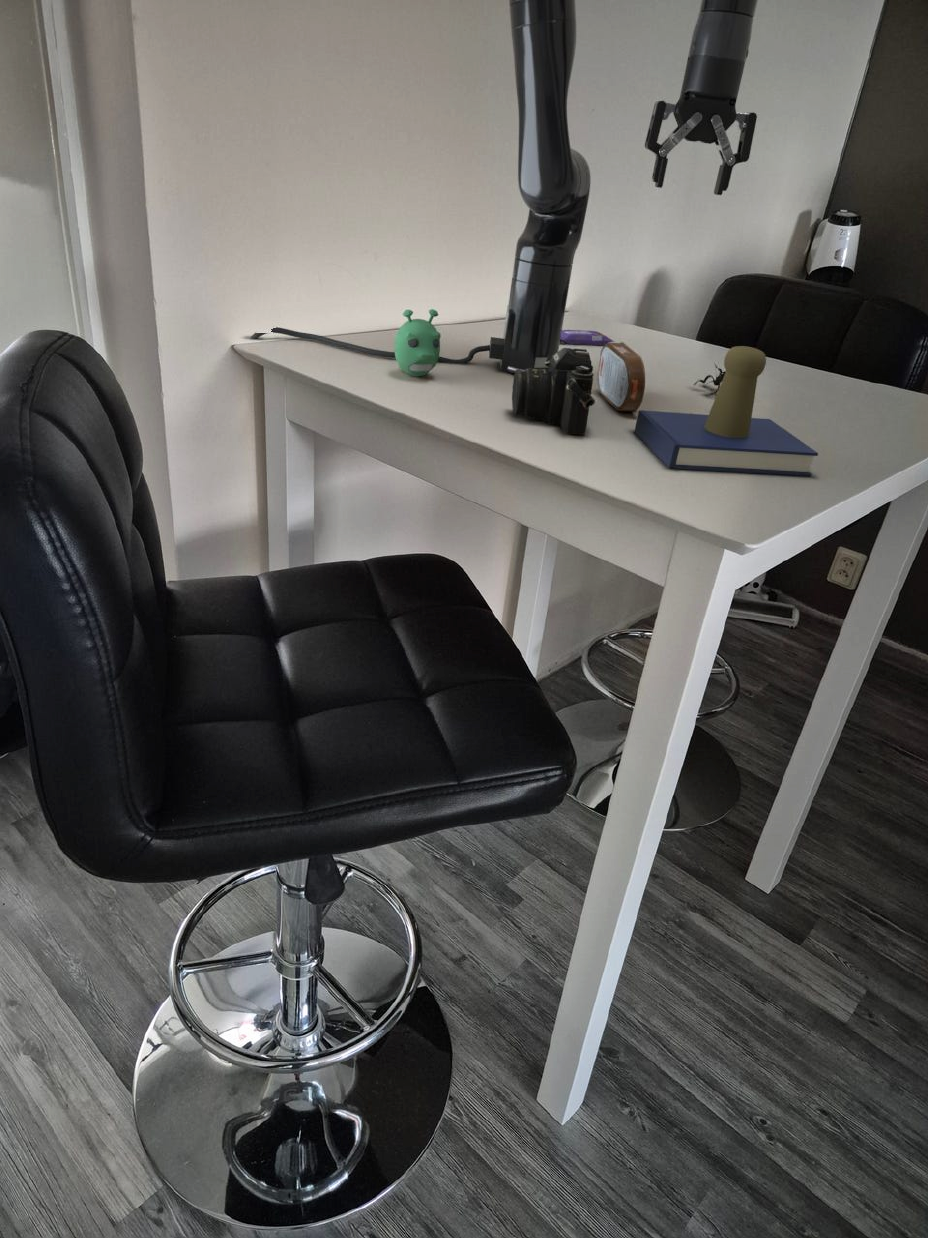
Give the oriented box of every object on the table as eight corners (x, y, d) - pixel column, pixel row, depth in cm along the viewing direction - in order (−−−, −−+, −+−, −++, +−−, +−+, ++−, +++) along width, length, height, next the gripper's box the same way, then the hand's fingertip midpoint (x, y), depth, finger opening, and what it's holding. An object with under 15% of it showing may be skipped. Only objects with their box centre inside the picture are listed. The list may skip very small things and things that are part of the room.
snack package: (562, 334, 166) (551, 328, 170) (560, 344, 167) (550, 338, 171) (616, 336, 170) (604, 330, 174) (614, 346, 171) (602, 340, 175)
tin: (640, 419, 130) (652, 362, 126) (620, 418, 129) (632, 360, 125) (609, 389, 143) (619, 336, 138) (590, 388, 142) (600, 335, 138)
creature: (694, 401, 146) (744, 398, 145) (694, 369, 144) (745, 365, 142) (692, 389, 153) (739, 387, 152) (692, 358, 151) (741, 355, 149)
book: (668, 468, 112) (674, 444, 110) (633, 432, 124) (638, 409, 122) (810, 476, 116) (818, 453, 114) (763, 440, 128) (770, 418, 126)
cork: (722, 438, 115) (745, 353, 109) (694, 423, 119) (715, 341, 114) (758, 437, 117) (782, 354, 112) (729, 422, 122) (751, 342, 116)
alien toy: (403, 383, 132) (409, 314, 127) (386, 369, 138) (390, 302, 133) (446, 383, 135) (453, 315, 130) (427, 369, 141) (433, 304, 136)
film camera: (486, 398, 130) (495, 329, 125) (560, 399, 134) (572, 332, 129) (536, 440, 116) (548, 364, 111) (617, 439, 120) (633, 366, 115)
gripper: (762, 64, 120) (730, 195, 128) (659, 50, 119) (634, 182, 128) (778, 61, 114) (743, 199, 122) (669, 46, 113) (642, 186, 121)
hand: (687, 190), depth 125 cm, fingers open, 8 cm apart
